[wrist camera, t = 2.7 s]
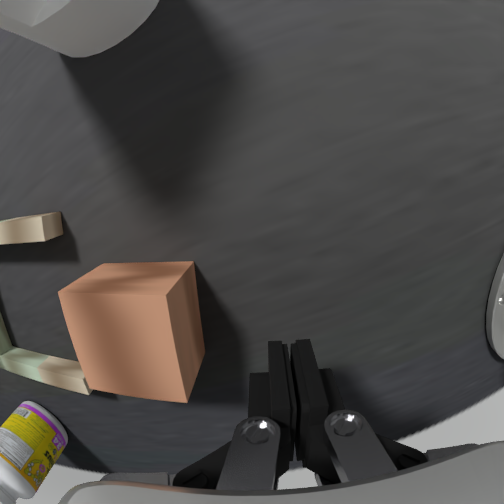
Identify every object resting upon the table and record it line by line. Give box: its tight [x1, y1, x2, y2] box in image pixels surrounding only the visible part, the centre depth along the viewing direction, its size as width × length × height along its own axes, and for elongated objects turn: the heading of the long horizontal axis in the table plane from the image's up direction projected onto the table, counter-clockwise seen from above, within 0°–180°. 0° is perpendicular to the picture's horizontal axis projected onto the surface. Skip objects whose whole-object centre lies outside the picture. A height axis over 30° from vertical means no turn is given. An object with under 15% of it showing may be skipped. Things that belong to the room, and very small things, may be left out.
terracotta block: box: [58, 261, 205, 403], centre depth 15 cm, size 6×6×5 cm
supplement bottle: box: [0, 401, 68, 504], centre depth 16 cm, size 7×7×13 cm
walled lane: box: [0, 212, 93, 395], centre depth 17 cm, size 12×13×2 cm
